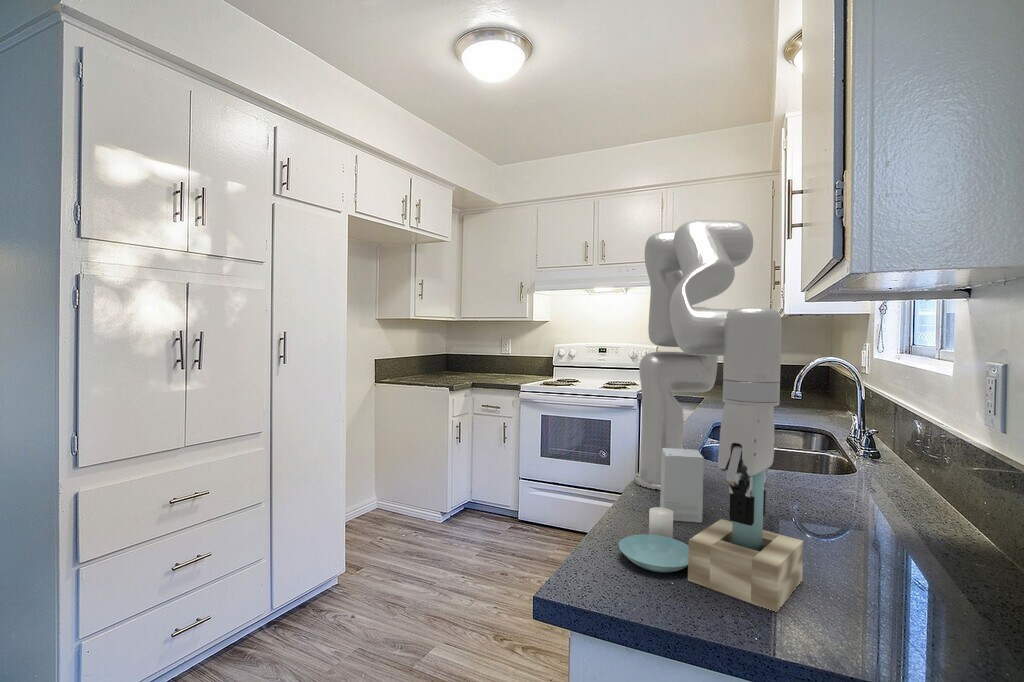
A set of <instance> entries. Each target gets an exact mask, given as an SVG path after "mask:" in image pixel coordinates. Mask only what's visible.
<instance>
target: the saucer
mask: <svg viewBox="0 0 1024 682" xmlns="http://www.w3.org/2000/svg"><path fill="white" fill-rule="evenodd" d="M618 548H619V550H620V552H621V553H622V554H623V555H624V556H625V557H626V558H627V559H628V560H629V561H631V562H632V563H633V564H634V565H636V566H638V567H640V568H642V569H643V570H644V569H645V570H647V571H650V572H655V573H662V574H665V573H669V574H670V573H674V572H678V571H680V570H684V569H685V568H688V551H689V544H687V543H685V542H684V541H681V540H678V539H675V538H673V539H672V538H669V537H665V536H659V535H649V534H645V533H643V534H634V535H628V536H626V537H624V538H622V539H621V540H620V541H619V543H618Z"/></svg>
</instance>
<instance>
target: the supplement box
mask: <svg viewBox="0 0 1024 682" xmlns="http://www.w3.org/2000/svg"><path fill="white" fill-rule="evenodd" d="M704 460H705V457H704V456H703V454H702V453H701V452H700V451H699V450H698V449H691V448H683V449H675V448H662V455H661V490H660V495H659V496H660V498H659V499H660V500H659V507H662V508H667V509H670V510H672V511H673V521H675V522H686V523H687V522H688V523H697V524H700V523H701V524H702V523H703V508H704V507H703V505H704V504H703V500H704V499H703V497H704V468H705V467H704V466H705V464H704V462H705V461H704Z"/></svg>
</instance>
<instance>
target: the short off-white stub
mask: <svg viewBox="0 0 1024 682" xmlns="http://www.w3.org/2000/svg"><path fill="white" fill-rule="evenodd" d="M648 513H649V517H648V522H649V523H648V535H659V536H665V537H669V538H672V539H674V537H673V536H674V535H673V533H674V520H673V511H672V510H670V509H667V508H662V507H660V506H659V507H658V506H655V507H651V508H649V512H648Z"/></svg>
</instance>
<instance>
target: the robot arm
mask: <svg viewBox="0 0 1024 682" xmlns="http://www.w3.org/2000/svg"><path fill="white" fill-rule="evenodd" d="M753 237H754V236H753V233H752V231H751V229H750V227H749V226H748V225H747V224H745V223H744V222H742V221H739V220H733V219H731V220H728V219H727V220H726V219H725V220H723V219H722V220H718V219H717V220H715V219H713V220H712V219H699V220H698V219H697V220H696V219H695V220H690V221H687V222H685V223H683V224H681V225H680V226H679V227H678V228H677V230H675V231H673V230H672V231H662V232H656V233H653V234H652V235H650V236H649V237H648V238H647V240H646V243H645V245H644V264H645V270H646V273H647V275H648V279H649V284H650V298H649V312H648V339H649V340H650V342H651V343H652V344H653V345H655V346H659V347H668V348H679V349H680V350H681V351H683V352H681V351H652V352H649V353H646V354H645V355H643V356H642V358H641V359H640V362H639V366H638V370H639V381H640V387H641V402H642V404H641V445H640V446H641V447H640V449H641V452H640V472H637V473H636V474H634V476H633V481H634V483H635V484H637V485H638V486H640V485H641V486H640V487H643V488H646V487H647V488H646V489H650V488H651V489H650V490H655V489H657V490H656V491H661V455H662V448H675V449H684V446H683V445H684V444H683V442H684V410H683V408H682V406H681V403H680V402H679V401H678V400H677V399H676V397H675V396H674V394H673V393H707V392H709V391H711V390H712V389H713V388H714V385H715V382H716V379H717V371H718V370H717V369H718V360H719V357H720V356H721V357H723V360H722V361H723V366H722V369H723V371H722V372H723V373H722V402H723V403H724V406H723V410H722V414H721V423H720V431H719V433H720V434H719V444H718V445H719V446H718V457H717V458H718V459H717V467H718V469H719V471H722V472H726V476H725V480H726V481H727V483H728V485H729V488H728V492H729V513H728V514H729V516H728V518H729V521H731V522H733V521H734V522H738V523H742V524H746V525H749V526H751V525H753V524H754V499H755V497H752V488H753V477H754V475H756V474H758V473H760V472H762V471H763V470H764V497H763V518H764V517H765V516H766V497H767V494H766V492H767V491H766V488H767V469H769V468H770V467H771V466H772V465H773V463H774V458H775V412H774V410H775V409H774V408H775V407H777V406H780V403H781V402H780V394H781V389H780V388H781V359H782V356H781V354H782V353H781V352H782V325H783V324H782V316H781V313H779V311H777V309H773V308H768V307H737V308H734V309H733V308H731V309H730V308H710V307H705V306H704V307H703V306H695V305H696V304H697V305H698V304H700V303H702V302H705V301H708V300H710V299H713V298H715V297H717V296H719V295H721V294H724V292H726V290H729V288H730V287H731V286H732V284H733V282H734V280H735V277H736V272H735V268H736V267H739V266H740V265H741V266H742V265H743V264H744V263H746V262H747V261H748V260H749V258H750V257H751V255H752V253H753V249H754V238H753ZM741 469H746V470H747V471H746V473H747V474H746V473H741V472H740V470H741ZM640 474H641V475H640ZM639 475H640V476H639ZM740 477H742V478H747V480H746V484H745V482H744V480H741V478H740ZM634 479H635V480H634Z"/></svg>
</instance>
